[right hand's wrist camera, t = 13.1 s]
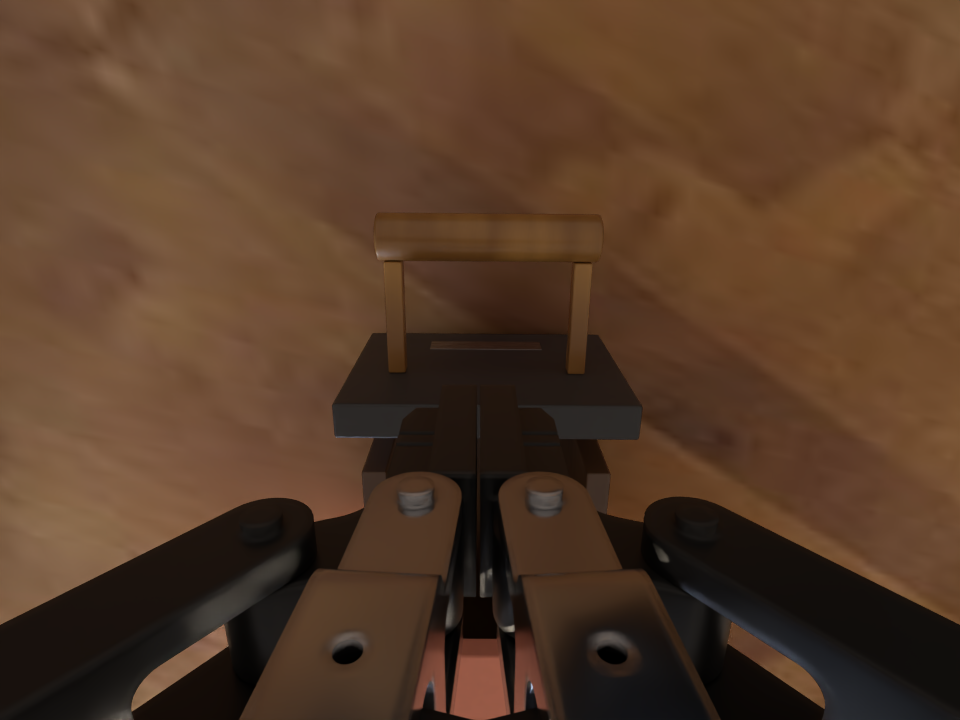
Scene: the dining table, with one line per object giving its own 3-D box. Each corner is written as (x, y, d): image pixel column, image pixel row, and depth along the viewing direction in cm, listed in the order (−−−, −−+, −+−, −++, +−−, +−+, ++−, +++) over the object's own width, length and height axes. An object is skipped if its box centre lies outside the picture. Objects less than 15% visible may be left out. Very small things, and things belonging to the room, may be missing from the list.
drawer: (364, 199, 23) (315, 224, 16) (609, 202, 23) (664, 226, 16) (391, 674, 32) (367, 820, 25) (570, 675, 32) (595, 821, 25)
